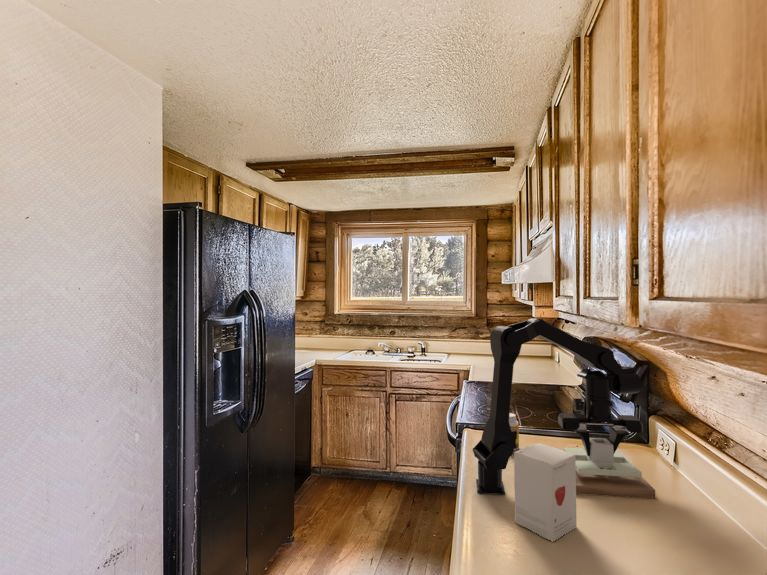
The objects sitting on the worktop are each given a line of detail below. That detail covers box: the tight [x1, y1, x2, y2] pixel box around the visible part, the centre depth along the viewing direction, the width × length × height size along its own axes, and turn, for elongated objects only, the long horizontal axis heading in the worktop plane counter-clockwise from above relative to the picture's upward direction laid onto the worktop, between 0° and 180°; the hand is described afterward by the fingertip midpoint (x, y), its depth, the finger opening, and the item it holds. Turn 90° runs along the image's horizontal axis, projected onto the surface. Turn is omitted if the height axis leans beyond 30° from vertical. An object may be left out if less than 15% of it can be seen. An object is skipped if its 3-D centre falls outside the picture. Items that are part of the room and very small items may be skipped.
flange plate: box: [563, 437, 643, 477], centre depth 106 cm, size 14×14×6 cm
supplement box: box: [513, 442, 578, 542], centre depth 85 cm, size 9×9×15 cm
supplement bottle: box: [509, 412, 520, 451], centre depth 128 cm, size 6×6×10 cm
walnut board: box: [575, 460, 656, 500], centre depth 106 cm, size 18×18×7 cm
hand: (599, 456), depth 106 cm, fingers closed on flange plate, 5 cm apart
